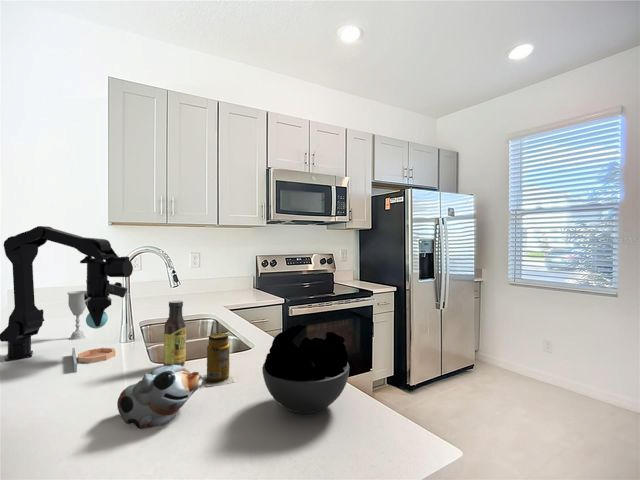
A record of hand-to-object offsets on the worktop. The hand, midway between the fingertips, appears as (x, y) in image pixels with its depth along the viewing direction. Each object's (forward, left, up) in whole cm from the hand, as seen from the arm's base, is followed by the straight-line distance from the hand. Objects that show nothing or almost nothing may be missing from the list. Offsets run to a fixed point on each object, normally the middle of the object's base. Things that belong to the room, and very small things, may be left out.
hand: (96, 324), depth 109 cm
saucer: (0, 0, -11) cm, 11 cm away
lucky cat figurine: (+52, +8, -11) cm, 53 cm away
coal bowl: (+69, +35, -11) cm, 78 cm away
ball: (0, 0, +2) cm, 2 cm away
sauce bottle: (+24, +18, -11) cm, 32 cm away
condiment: (+41, +25, -11) cm, 49 cm away
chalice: (-31, -4, -11) cm, 33 cm away
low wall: (+2, -6, -11) cm, 12 cm away
